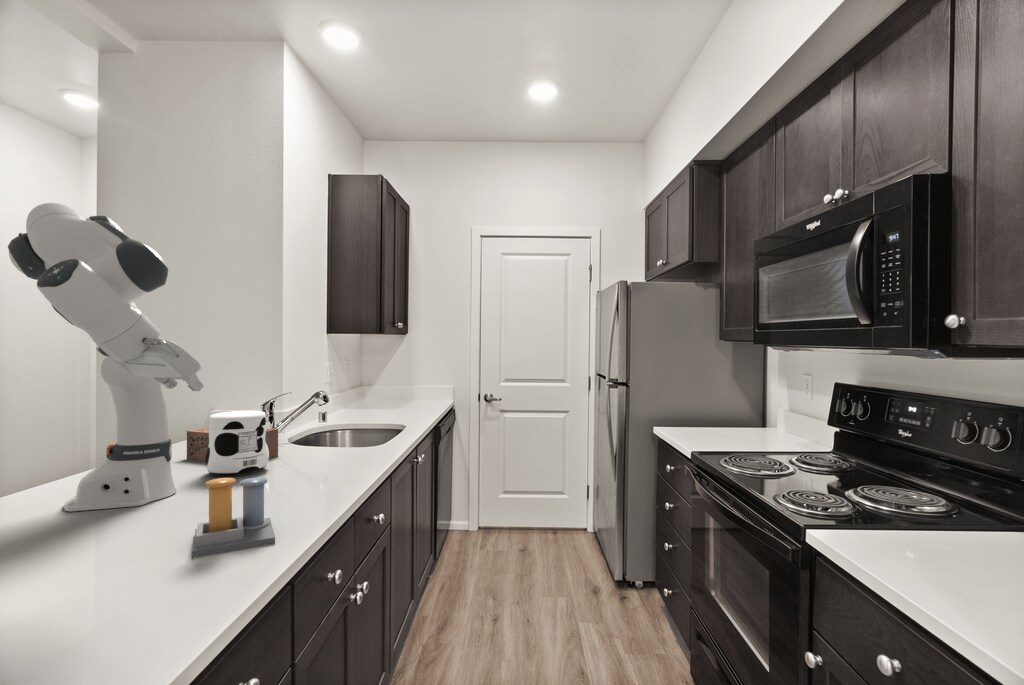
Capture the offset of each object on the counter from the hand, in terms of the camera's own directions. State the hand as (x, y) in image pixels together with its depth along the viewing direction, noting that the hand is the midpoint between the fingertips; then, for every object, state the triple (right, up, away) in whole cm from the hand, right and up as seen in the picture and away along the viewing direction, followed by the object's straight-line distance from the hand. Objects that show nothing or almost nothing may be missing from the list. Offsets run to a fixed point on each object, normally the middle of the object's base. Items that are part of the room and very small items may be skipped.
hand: (186, 387), depth 102 cm
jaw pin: (+8, -30, -1) cm, 31 cm away
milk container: (-19, -31, +53) cm, 65 cm away
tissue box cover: (-31, -31, +73) cm, 85 cm away
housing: (+10, -31, 0) cm, 32 cm away
